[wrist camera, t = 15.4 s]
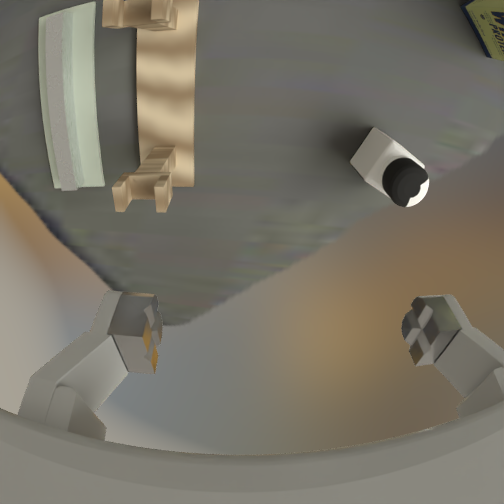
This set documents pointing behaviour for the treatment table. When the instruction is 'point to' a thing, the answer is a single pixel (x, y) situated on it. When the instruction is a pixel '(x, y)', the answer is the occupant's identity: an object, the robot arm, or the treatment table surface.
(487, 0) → the protein box
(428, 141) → the treatment table surface
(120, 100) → the treatment table surface
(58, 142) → the aluminium rail
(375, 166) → the medicine bottle
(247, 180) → the treatment table surface
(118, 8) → the hook rack
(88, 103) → the sage mat
